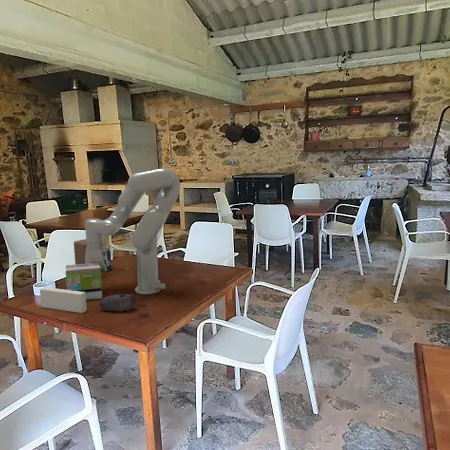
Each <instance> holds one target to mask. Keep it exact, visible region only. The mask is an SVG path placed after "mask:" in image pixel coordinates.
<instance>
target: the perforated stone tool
mask: <svg viewBox="0 0 450 450" xmlns="http://www.w3.org/2000/svg"><path fill="white" fill-rule="evenodd" d="M136 301H137V300H136V296H135V295H134V294H126V293H125V294H121V293H120V294H113V295H107V296H105V297H102V298H101V299H100V300H99V307H100V308H101V309H102V310H104V311H108V312H111V311H113V312H124V311H128V312H129V311H131V310H132V309H133V308H134V307H135V305H136V303H137V302H136Z"/></svg>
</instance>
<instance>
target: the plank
mask: <svg viewBox="0 0 450 450" xmlns="http://www.w3.org/2000/svg"><path fill="white" fill-rule="evenodd" d="M39 295H40V298H39V299H40V306H41V308H46V309H53V310H60V311H66V312H72V313H73V312H74V313H80V314H83V313H85V312H86V311H87V310H88V309H87V300H86V294H85V292H80V291H72V290H67V289H63V288H62V289H61V288H56V287H47V286H44V287H41V288H40V289H39Z"/></svg>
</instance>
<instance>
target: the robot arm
mask: <svg viewBox="0 0 450 450" xmlns="http://www.w3.org/2000/svg"><path fill="white" fill-rule="evenodd" d="M157 190H160V191H159V193H158V195H157V196H156V198H155V200H154V202H153V203H152V204H151V206H150V207H149V208H148V209H147V210H146V211H145V213H144V214H143V215H142V217H141V219H140V220H139V222H138V224H137V226H136V228H135V230H134V231H133V233H132V236H131V243H132V245H133V247H134V248H135V249H136V265H137V266H136V267H137V286H136V287H135V288H134V291H135V292H136V294H139V295H153V294H157V293H159V292H161V291H162V290H165V289H166V283H161V280H160V279H159V270H158V269H159V268H158V234H159V233H160V231H161V229H162V228H163V225H164V224H165V223H166V222H167V219H168V217H169V215H170V213H171V211H172V209H173V207H174V206H175V203H176V202H177V199H178V197H179V194H180V190H181V183H180V179H179V176H178V175H177V173H176V172H175V170H173V169H172V168H170V167H162V168H157V169H153V170H149V171H144V172H136V173H133V174H131V175H130V176H129V178H128V180H127V185H126V187H125V188H124V189H123V191H122V192H121V193H120V195H119V197H118V199H117V205H116V207H115V208H114V210H113V212H112V213H111V215H110V216H109V217H108V218H106V219H104V220H102V219H101V218H88V219H86V220H85V222H84V224H85V225H84V226H85V227H84V228H85V239H86V243H87V248H86V251H85V264H89V263H100V267H101V273H102V274H103V273H104V272H108V271H107V268H106V267H108V258H107V253H106V249H105V248H106V247H105V246H106V243H105V242H104V236H107V237H110V236H113V235H114V234H116V233H117V232H118V231H120V229H121V228H122V227H123V225H124V224H125V223H126V221H127V220H128V219H129V217H130V215H131V213H132V212H133V211H134V209H135V208H136V206H137V205H138V203H139V202H140V200H142V198H143V196H144V194H146V193H147V192H151V191H157ZM161 289H162V290H161ZM160 290H161V291H160Z"/></svg>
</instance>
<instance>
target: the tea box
mask: <svg viewBox="0 0 450 450" xmlns="http://www.w3.org/2000/svg"><path fill="white" fill-rule="evenodd" d="M65 281H66V282H65V284H66V290H72V291H80V292H85V294H86V301H87V300H96V299H97V300H98V299H100V300H101V299H103V285H102V284H103V283H102V276H101V267H100V263H89V264H76V265H75V264H67V265H66V266H65Z"/></svg>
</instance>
